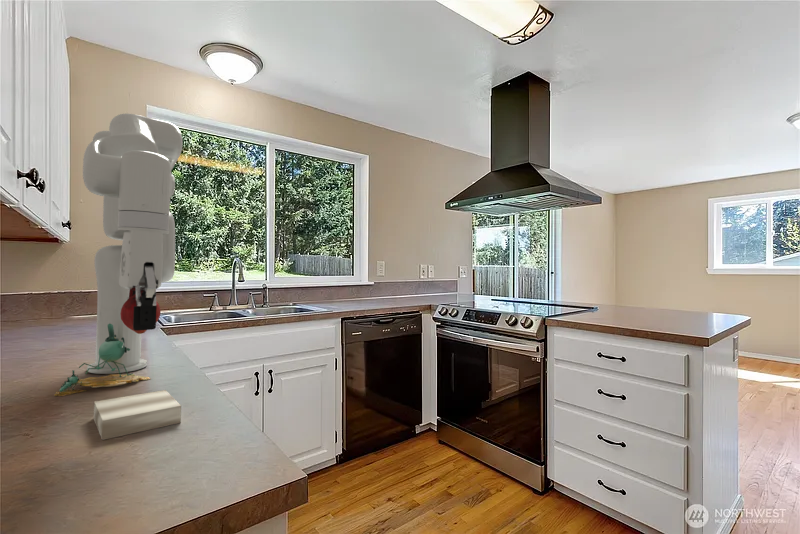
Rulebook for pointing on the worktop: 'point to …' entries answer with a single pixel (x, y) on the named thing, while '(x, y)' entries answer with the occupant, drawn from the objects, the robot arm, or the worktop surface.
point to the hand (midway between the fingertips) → (140, 326)
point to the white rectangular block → (135, 413)
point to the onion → (128, 313)
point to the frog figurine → (108, 353)
